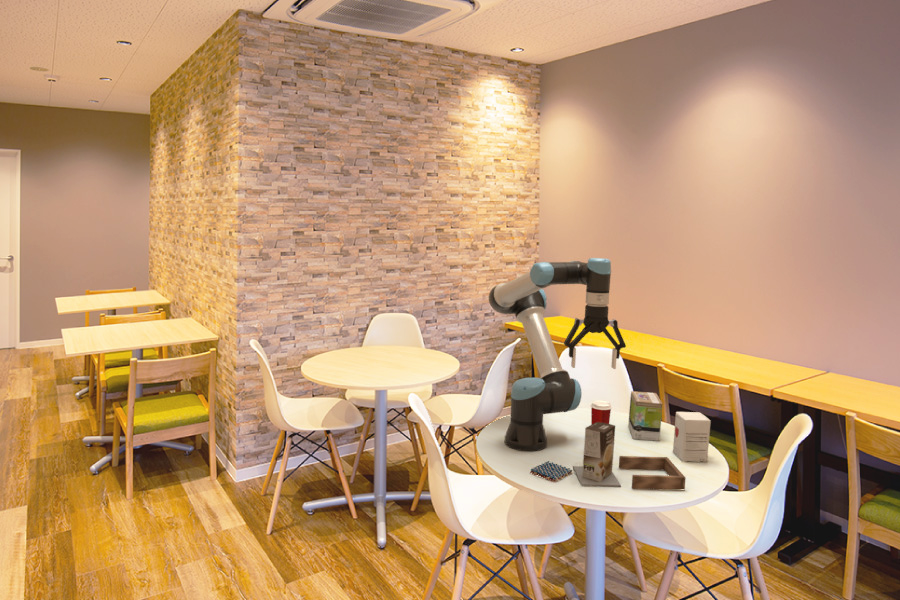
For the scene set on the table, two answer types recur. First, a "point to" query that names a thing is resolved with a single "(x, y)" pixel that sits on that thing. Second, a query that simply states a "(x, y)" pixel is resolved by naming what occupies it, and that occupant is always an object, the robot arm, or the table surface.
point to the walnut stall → (653, 481)
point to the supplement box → (691, 436)
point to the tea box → (645, 416)
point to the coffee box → (598, 451)
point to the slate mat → (607, 482)
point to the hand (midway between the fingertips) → (593, 367)
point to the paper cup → (600, 412)
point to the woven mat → (551, 471)
